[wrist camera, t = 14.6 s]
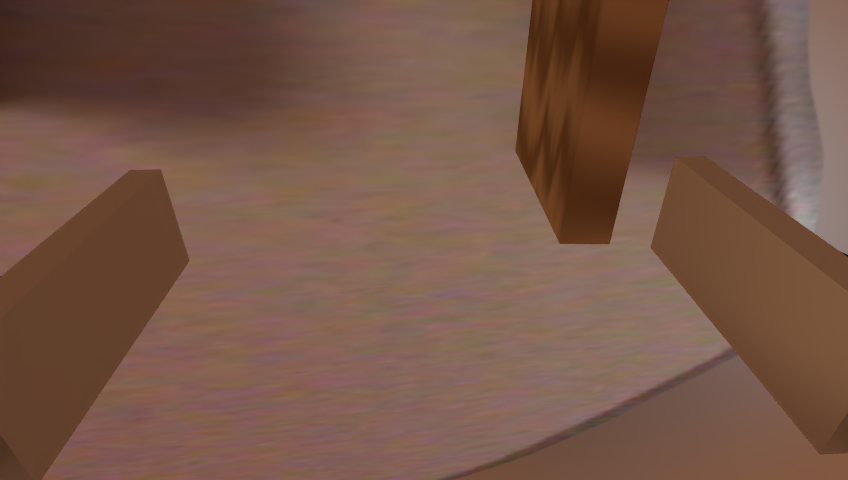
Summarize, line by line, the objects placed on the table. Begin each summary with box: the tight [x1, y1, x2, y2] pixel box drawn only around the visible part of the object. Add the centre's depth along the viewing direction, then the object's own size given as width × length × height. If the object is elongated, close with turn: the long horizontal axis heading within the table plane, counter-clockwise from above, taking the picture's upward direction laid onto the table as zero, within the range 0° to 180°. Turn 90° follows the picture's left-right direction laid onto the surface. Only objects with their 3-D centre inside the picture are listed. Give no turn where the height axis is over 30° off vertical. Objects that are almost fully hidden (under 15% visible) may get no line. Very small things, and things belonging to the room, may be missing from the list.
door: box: [515, 0, 669, 244], centre depth 31 cm, size 21×4×16 cm, turn 179°
